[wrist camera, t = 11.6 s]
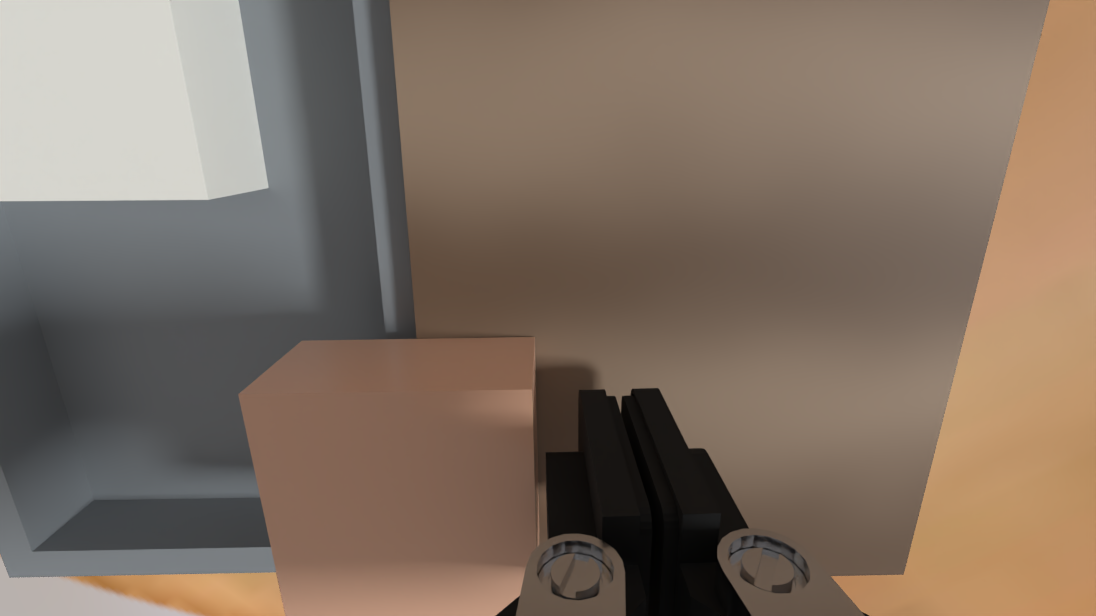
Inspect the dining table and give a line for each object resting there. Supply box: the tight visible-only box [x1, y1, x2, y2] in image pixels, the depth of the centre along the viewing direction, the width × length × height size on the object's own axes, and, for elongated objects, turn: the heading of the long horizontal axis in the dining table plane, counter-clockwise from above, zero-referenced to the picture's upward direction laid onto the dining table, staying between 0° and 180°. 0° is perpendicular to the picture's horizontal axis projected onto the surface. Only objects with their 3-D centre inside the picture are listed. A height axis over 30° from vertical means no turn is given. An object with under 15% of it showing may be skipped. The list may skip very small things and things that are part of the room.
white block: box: [0, 0, 269, 201], centre depth 11 cm, size 5×5×2 cm
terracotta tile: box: [238, 337, 539, 616], centre depth 11 cm, size 5×5×2 cm
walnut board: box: [389, 0, 1050, 576], centre depth 12 cm, size 17×12×3 cm
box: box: [0, 0, 417, 577], centre depth 12 cm, size 17×11×2 cm, turn 0°
